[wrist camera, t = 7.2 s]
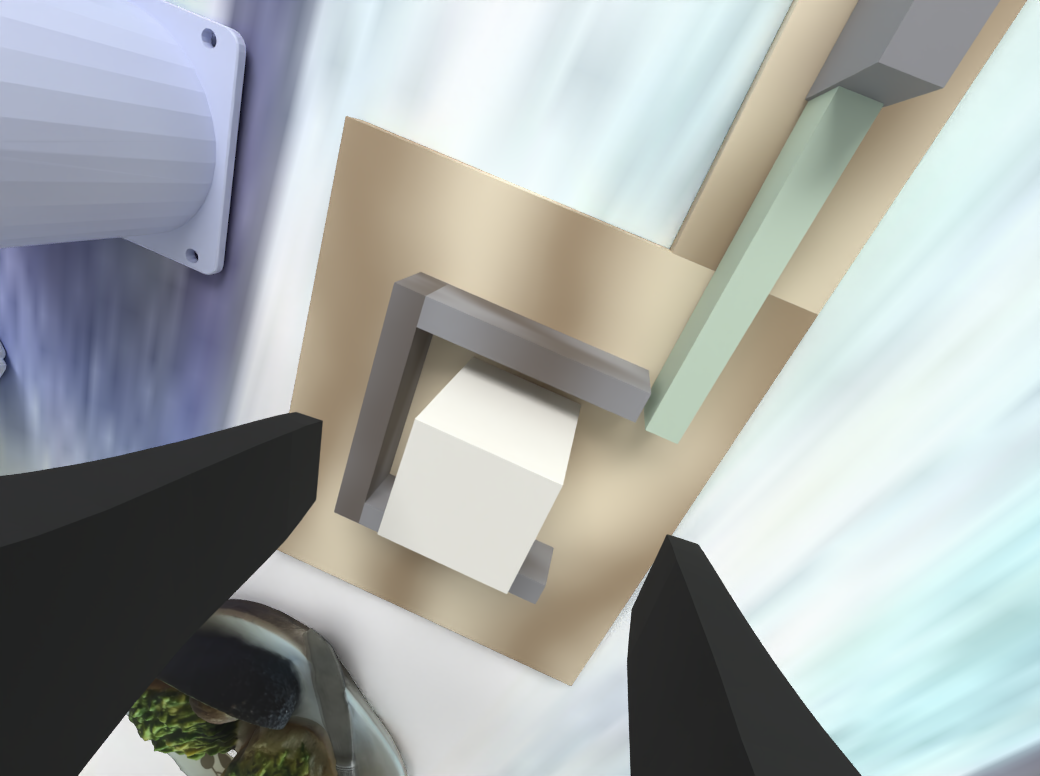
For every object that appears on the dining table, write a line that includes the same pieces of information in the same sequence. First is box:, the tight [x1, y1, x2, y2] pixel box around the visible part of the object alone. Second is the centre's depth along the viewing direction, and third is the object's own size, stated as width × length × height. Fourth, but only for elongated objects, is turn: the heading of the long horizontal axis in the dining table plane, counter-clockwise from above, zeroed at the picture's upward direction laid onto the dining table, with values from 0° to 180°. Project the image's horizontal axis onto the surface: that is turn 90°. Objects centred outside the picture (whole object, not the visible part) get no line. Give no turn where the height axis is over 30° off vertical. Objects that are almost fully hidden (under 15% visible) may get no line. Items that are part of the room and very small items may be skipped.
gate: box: [644, 0, 1000, 444], centre depth 11 cm, size 1×14×4 cm, turn 158°
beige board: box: [277, 0, 1027, 686], centre depth 15 cm, size 15×30×3 cm, turn 158°
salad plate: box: [127, 599, 407, 776], centre depth 27 cm, size 19×18×5 cm
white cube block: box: [378, 357, 581, 594], centre depth 15 cm, size 4×4×5 cm
